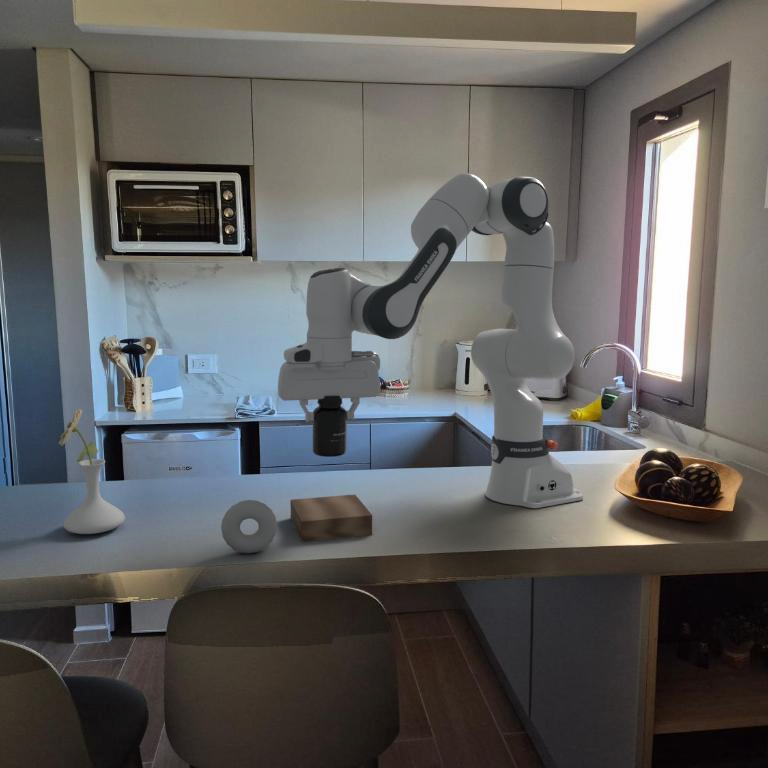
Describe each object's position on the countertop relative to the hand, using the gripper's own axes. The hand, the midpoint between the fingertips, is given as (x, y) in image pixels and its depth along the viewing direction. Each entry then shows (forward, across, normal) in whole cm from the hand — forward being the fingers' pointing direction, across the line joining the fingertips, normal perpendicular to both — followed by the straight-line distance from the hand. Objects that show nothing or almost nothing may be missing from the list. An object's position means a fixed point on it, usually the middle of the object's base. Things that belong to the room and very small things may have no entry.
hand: (329, 420), depth 134 cm
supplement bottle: (+7, 0, 0) cm, 7 cm away
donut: (+22, +17, +10) cm, 30 cm away
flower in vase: (+22, +46, -10) cm, 52 cm away
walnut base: (+22, 0, 0) cm, 22 cm away
